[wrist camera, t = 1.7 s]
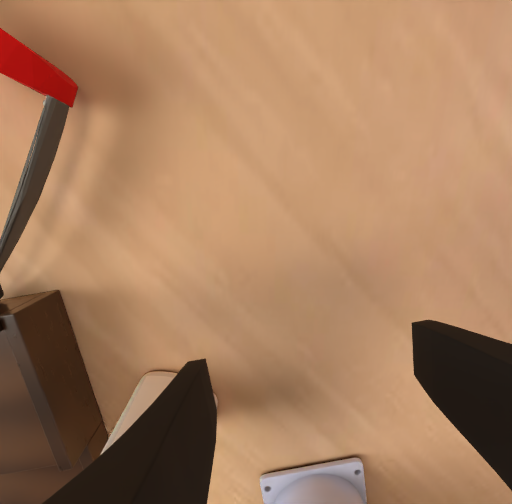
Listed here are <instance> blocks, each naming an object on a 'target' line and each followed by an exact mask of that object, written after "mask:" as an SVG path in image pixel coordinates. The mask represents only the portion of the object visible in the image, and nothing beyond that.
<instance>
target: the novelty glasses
mask: <svg viewBox="0 0 512 504" xmlns="http://www.w3.org/2000/svg"><path fill="white" fill-rule="evenodd" d="M0 73H2V74H4V75H6V76H8V77H10V78H12V79H14V80H15V81H17V82H19V83H21V84H23V85H25V86H27V87H30V88H31V89H33V90H35V91H37V92H39V93H41V94H43V95H45V96H46V99H45V100H44V101H43V105H44V108H43V111H42V114H41V117H40V120H39V123H38V126H37V130H36V133H35V136H34V139H33V142H32V145H31V148H30V151H29V154H28V157H27V160H26V163H25V166H24V169H23V172H22V175H21V178H20V181H19V184H18V187H17V190H16V193H15V196H14V199H13V203H12V206H11V209H10V212H9V215H8V218H7V221H6V224H5V227H4V230H3V233H2V236H1V239H0V272H1V270H2V268H3V267H4V265H5V263H6V261H7V260H8V258H9V256H10V254H11V253H12V251H13V249H14V247H15V246H16V244H17V242H18V240H19V238H20V236H21V234H22V233H23V231H24V229H25V226H26V224H27V222H28V220H29V218H30V216H31V214H32V212H33V210H34V208H35V206H36V204H37V202H38V200H39V197H40V195H41V192H42V190H43V187H44V184H45V182H46V179H47V177H48V174H49V171H50V169H51V166H52V163H53V161H54V158H55V155H56V152H57V148H58V145H59V142H60V139H61V136H62V132H63V129H64V125H65V122H66V118H67V114H68V110H69V107H73V103H74V100H75V96H76V93H77V90H78V87H77V85H76V84H75V82H74V81H73V80H72V79H71V78H70V77H68V76H67V75H66V74H65V73H63V72H62V71H61V70H59V69H58V68H57V67H55V66H54V65H52V64H51V63H49V62H48V61H47V60H45V59H44V58H42V57H41V56H39V55H38V54H37V53H35V52H34V51H32V50H31V49H29V48H28V47H26V46H25V45H24V44H22V43H21V42H19V41H18V40H17V39H15V38H14V37H12V36H11V35H9V34H8V33H6V32H5V31H4V30H2V29H1V28H0ZM38 130H39V131H38ZM37 134H38V135H37ZM36 137H37V139H36ZM35 140H36V143H35ZM34 144H35V146H34ZM33 147H34V149H33ZM32 150H33V152H32ZM31 153H32V156H31ZM30 157H31V159H30ZM29 160H30V162H29ZM28 163H29V165H28ZM27 166H28V168H27ZM26 170H27V171H26ZM25 173H26V174H25ZM24 176H25V177H24ZM23 179H24V180H23ZM3 295H4V292H3V290H2V288H1V285H0V299H1V298H2V297H3Z"/></svg>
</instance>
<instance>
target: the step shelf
mask: <svg viewBox="0 0 512 504" xmlns="http://www.w3.org/2000/svg"><path fill="white" fill-rule="evenodd" d="M107 441H108V436H107V433H106V430H105V427H104V424H103V421H102V418H101V415H100V412H99V409H98V406H97V403H96V400H95V397H94V394H93V391H92V388H91V385H90V382H89V379H88V376H87V373H86V370H85V367H84V364H83V361H82V358H81V355H80V352H79V349H78V346H77V343H76V340H75V337H74V334H73V331H72V328H71V325H70V322H69V319H68V316H67V313H66V310H65V307H64V304H63V301H62V298H61V295H60V292H59V290H55V291H49V292H43V293H37V294H32V295H26V296H20V297H14V298H8V299H2V300H0V504H42V503H43V502H44V501H46V500H47V499H48V498H50V497H51V496H52V495H53V494H54V493H56V492H57V491H58V490H59V489H61V488H62V487H63V486H64V485H66V484H67V483H68V482H69V481H70V480H72V479H73V478H74V477H75V476H77V475H78V474H79V473H80V472H82V471H83V470H84V469H85V468H86V467H88V466H89V465H90V464H91V463H92V462H93V461H94V460H96V459H97V458H98V457H99V456H100V454H101V452H102V450H103V448H104V447H105V445H106V443H107Z"/></svg>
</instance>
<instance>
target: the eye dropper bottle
mask: <svg viewBox="0 0 512 504" xmlns="http://www.w3.org/2000/svg"><path fill="white" fill-rule="evenodd" d="M177 374H178V373H173V372H163V371H155V372H149V373H146V374H145V375H144V376H143V377H142V378H141V380H140V381H139V383H138V385H137V387H136V389H135V391H134V392H133V394H132V396H131V398H130V400H129V402H128V404H127V405H126V407H125V409H124V411H123V413H122V415H121V417H120V418H119V420H118V422H117V424H116V426H115V428H114V430H113V432H112V433H111V435H110V437H109V439H108V441H107V443H106V445H105V447H104V448H103V450H102V452H101V454H102V453H103V452H104V451H106V450H107V449H108V448H109V447H110V446H111V445H112V444H113V443H114V442H115V441H116V440H117V439H118V438H119V437H120V436H122V435H123V434H124V433H125V432H126V431H127V430H128V429H129V427H130V426H131V425H132V424H133V423H134V422H135V421H136V420H137V419H138V418H139V417H140V416H141V415H142V414H143V413H144V412H145V411H146V409H147V408H148V407H149V406H150V405H151V404H152V403H153V402H154V401H155V400H156V398H157V397H158V396H159V395H160V394H161V393H162V391H163V390H164V389H165V388H166V387H167V386H168V385H169V383H170V382H171V381H172V380H173V379H174V377H175V376H176V375H177ZM213 394H214V393H213ZM214 399H215V403H216V407H217V405H218V399H217V397H216V395H215V394H214ZM101 454H100V455H101Z"/></svg>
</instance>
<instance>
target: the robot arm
mask: <svg viewBox="0 0 512 504" xmlns="http://www.w3.org/2000/svg"><path fill="white" fill-rule="evenodd" d="M412 339H413V361H414V375H415V377H416V378H417V380H418V381H419V383H420V384H421V386H422V387H423V389H424V390H425V391H426V393H427V394H428V395H429V397H430V398H431V400H432V401H433V402H434V403H435V405H436V406H437V407H438V408H439V409H440V410H441V411H442V413H443V414H444V415H445V416H446V417H447V418H448V419H449V420H450V422H451V423H452V424H453V425H454V426H455V427H456V428H457V429H458V430H459V432H460V433H461V434H462V435H463V436H464V437H465V438H466V439H467V440H468V442H469V443H470V444H471V445H472V446H473V447H474V448H475V449H476V450H477V452H478V453H479V454H480V455H481V456H482V457H483V458H484V459H485V460H486V461H487V463H488V464H489V465H490V466H491V467H492V468H493V469H494V470H495V471H496V473H497V474H498V475H499V476H500V477H501V479H502V480H503V481H504V482H505V483H506V484H507V486H508V487H509V488H510V489H511V490H512V344H510V343H506V342H503V341H500V340H497V339H493V338H490V337H487V336H484V335H481V334H477V333H474V332H471V331H468V330H465V329H461V328H458V327H455V326H452V325H448V324H445V323H441V322H437V321H433V320H425V321H419V322H413V323H412ZM216 427H217V407H216V403H215V399H214V394H213V390H212V385H211V381H210V376H209V372H208V367H207V363H206V359H201V360H195V361H189V362H187V363H186V364H185V366H184V367H183V368H182V369H181V370H180V371H179V373H178V374H177V375H176V376H175V377H174V379H173V380H172V381H171V382H170V383H169V385H168V386H167V387H166V388H165V389H164V390H163V391H162V393H161V394H160V395H159V396H158V397H157V398H156V400H155V401H154V402H153V403H152V404H151V405H150V406H149V407H148V408H147V409H146V411H145V412H144V413H143V414H142V415H141V416H140V417H139V418H138V419H137V420H136V421H135V422H134V423H133V424H132V425H131V426H130V427H129V429H128V430H127V431H126V432H125V433H124V434H123V435H122V436H120V437H119V438H118V439H117V440H116V441H115V442H114V443H113V444H112V445H111V446H110V447H109V448H108V449H107V450H106V451H104V452H103V453H102V454H101V455H100V456H99V457H98V458H97V459H96V460H94V461H93V462H92V463H91V464H90V465H89V466H88V467H86V468H85V469H84V470H83V471H82V472H80V473H79V474H78V475H77V476H75V477H74V478H73V479H72V480H70V481H69V482H68V483H67V484H66V485H64V486H63V487H62V488H61V489H59V490H58V491H57V492H56V493H54V494H53V495H52V496H51V497H50V498H48V499H47V500H46V501H44V502H43V503H42V504H207V498H208V492H209V485H210V478H211V472H212V465H213V458H214V451H215V444H216ZM260 486H261V491H262V496H263V501H264V504H367V498H366V488H365V478H364V468H363V463H362V461H361V459H360V458H349V459H344V460H338V461H333V462H328V463H322V464H317V465H311V466H306V467H300V468H295V469H289V470H284V471H278V472H273V473H268V474H264V475H262V476H261V477H260Z"/></svg>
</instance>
